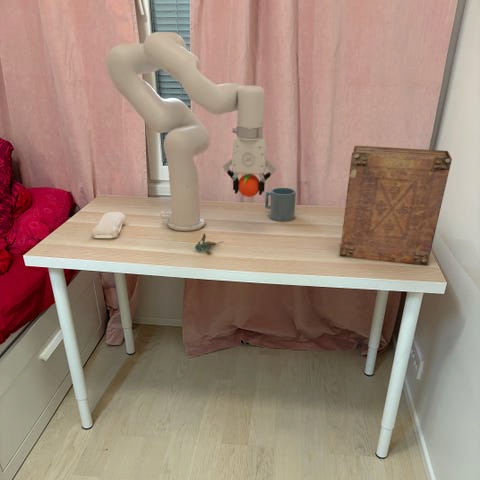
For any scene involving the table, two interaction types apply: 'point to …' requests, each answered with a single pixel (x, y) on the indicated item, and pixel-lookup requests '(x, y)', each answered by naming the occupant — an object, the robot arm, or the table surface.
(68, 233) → the table surface
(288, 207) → the blue mug
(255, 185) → the clementine
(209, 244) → the dragon figurine
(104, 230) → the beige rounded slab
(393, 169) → the book
